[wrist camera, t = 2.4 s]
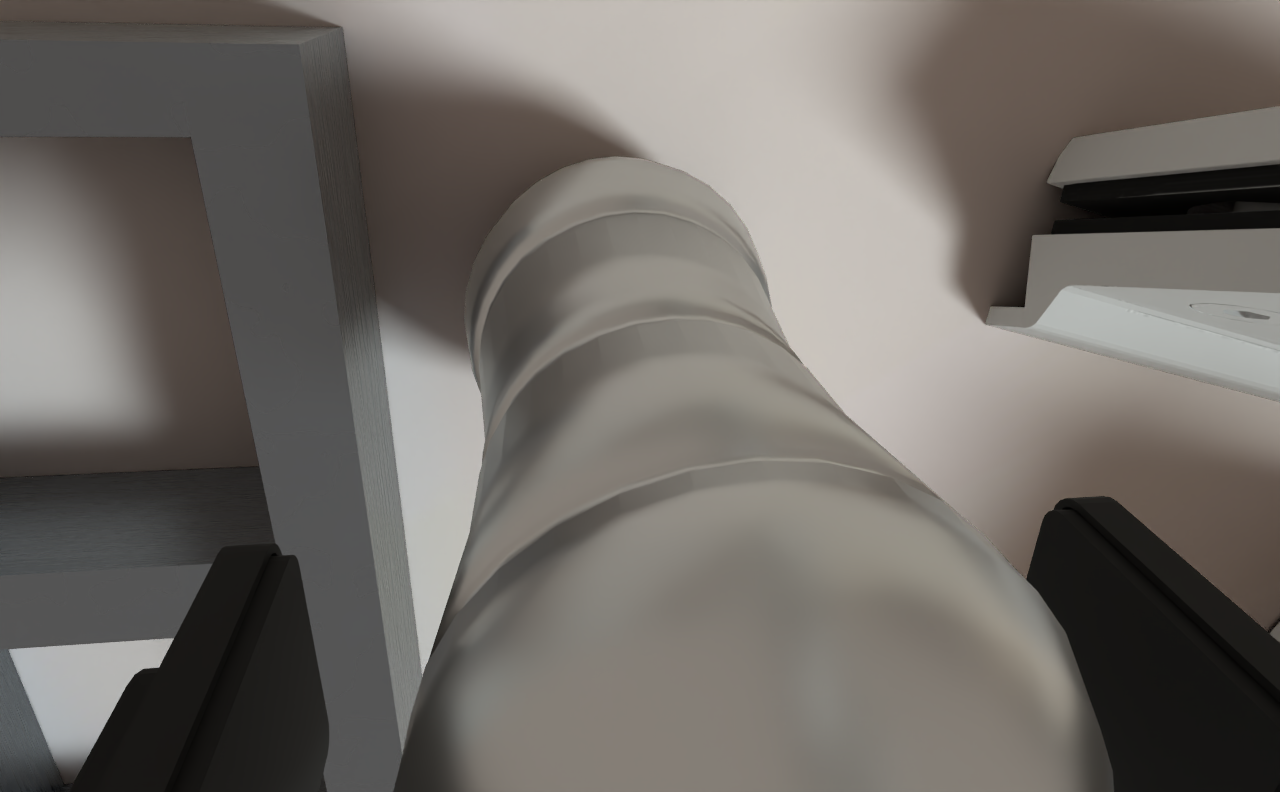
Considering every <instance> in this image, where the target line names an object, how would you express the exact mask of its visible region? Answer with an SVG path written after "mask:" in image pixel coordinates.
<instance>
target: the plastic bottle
mask: <svg viewBox="0 0 1280 792" xmlns="http://www.w3.org/2000/svg"><path fill="white" fill-rule="evenodd" d="M464 322H465V329H466V335H467V342H468V348H469V354H470V360H471V365H472V371H473V374H474V377H475V379H476V382H477V385H478V387H479V390H480V392H481V397H482V409H483V420H484V432H485V444H484V450H483V459H482V467H481V470H480V474H479V480H478V486H477V492H476V498H475V504H474V510H473V516H472V522H471V528H470V533H469V537H468V540H467V543H466V546H465V549H464V552H463V555H462V558H461V561H460V564H459V567H458V571H457V574H456V577H455V580H454V583H453V586H452V589H451V592H450V595H449V598H448V601H447V605H446V608H445V611H444V614H443V617H442V620H441V623H440V626H439V629H438V632H437V635H436V639H435V642H434V645H433V648H432V651H431V655H430V658H429V661H428V663H427V665H426V667H425V670H424V673H423V677H422V680H421V683H420V686H419V690H418V693H417V696H416V699H415V702H414V706H413V709H412V712H411V716H410V720H409V725H408V730H407V735H406V739H405V744H404V749H403V753H402V758H401V762H400V766H399V770H398V774H397V778H396V782H395V787H394V791H393V792H1114V784H1113V770H1112V767H1111V763H1110V760H1109V757H1108V753H1107V750H1106V746H1105V743H1104V739H1103V736H1102V733H1101V729H1100V726H1099V723H1098V721H1097V718H1096V715H1095V712H1094V710H1093V707H1092V704H1091V701H1090V698H1089V696H1088V693H1087V690H1086V687H1085V684H1084V682H1083V679H1082V676H1081V673H1080V671H1079V668H1078V665H1077V662H1076V659H1075V657H1074V654H1073V651H1072V648H1071V645H1070V643H1069V640H1068V637H1067V634H1066V632H1065V631H1064V629H1063V628H1062V626H1061V625H1060V623H1059V622H1058V620H1057V619H1056V618H1055V616H1054V615H1053V613H1052V612H1051V610H1050V609H1049V607H1048V606H1047V604H1046V603H1045V601H1044V600H1043V598H1042V597H1041V596H1040V594H1039V593H1038V591H1037V590H1036V589H1035V588H1034V587H1033V586H1032V585H1031V584H1030V583H1029V582H1028V581H1027V580H1026V579H1025V578H1024V577H1023V576H1022V575H1021V574H1020V573H1019V572H1018V571H1017V570H1016V569H1015V568H1014V567H1013V566H1012V565H1011V564H1010V563H1009V561H1008V560H1007V559H1006V558H1005V557H1004V556H1003V555H1002V554H1001V553H1000V552H999V551H998V549H997V548H996V547H995V546H994V545H993V544H992V543H991V542H990V541H989V540H988V538H987V537H986V536H985V535H984V534H983V533H982V532H980V531H979V530H978V529H977V528H976V527H974V526H973V525H972V524H971V523H969V522H968V521H967V520H966V519H965V518H963V517H962V516H961V515H960V514H959V513H958V512H957V511H955V510H954V509H953V508H952V507H951V506H950V505H949V504H947V503H946V502H945V501H944V500H943V499H942V498H941V497H939V496H938V495H937V494H936V493H935V492H934V491H933V490H931V489H930V488H929V487H928V486H927V485H926V484H925V483H923V482H922V481H921V480H920V479H919V478H918V477H916V476H915V475H914V474H913V473H912V472H911V471H910V470H908V469H907V468H906V467H905V466H904V465H903V464H902V463H900V462H899V461H898V460H897V459H896V458H895V457H894V456H892V455H891V454H890V453H889V452H888V451H887V450H886V449H884V448H883V447H882V446H881V445H880V444H879V443H878V442H876V441H875V440H874V439H873V438H872V437H871V436H870V435H868V434H867V433H866V432H865V431H864V430H863V429H862V428H860V427H859V426H858V425H857V424H856V423H855V422H854V421H852V420H851V419H850V418H849V417H848V416H847V415H846V414H845V413H844V412H843V410H842V409H841V408H840V407H839V406H838V404H837V403H836V402H835V401H834V400H833V398H832V397H831V396H830V395H829V394H828V392H827V391H826V390H825V389H824V388H823V386H822V385H821V384H820V383H819V382H818V380H817V379H816V378H815V377H814V375H813V374H812V373H811V372H810V371H809V369H808V368H807V367H805V366H804V365H803V363H802V362H801V361H800V359H799V358H798V357H797V355H796V354H795V353H794V352H793V350H792V349H791V348H790V347H789V344H788V342H787V340H786V338H785V336H784V334H783V331H782V329H781V327H780V325H779V323H778V320H777V318H776V316H775V314H774V312H773V310H772V306H771V300H770V294H769V289H768V284H767V278H766V275H765V272H764V269H763V266H762V264H761V261H760V258H759V255H758V253H757V250H756V248H755V245H754V243H753V241H752V238H751V236H750V234H749V231H748V229H747V227H746V226H745V224H744V223H743V222H742V220H741V219H740V217H739V216H738V214H737V213H736V212H735V210H734V209H733V207H732V206H731V205H730V204H729V203H728V202H727V201H726V200H725V199H724V198H722V197H721V196H720V195H719V194H718V193H717V192H716V191H715V190H713V189H712V188H711V187H710V186H709V185H707V184H705V183H704V182H702V181H700V180H698V179H697V178H695V177H693V176H691V175H689V174H688V173H686V172H684V171H682V170H678V169H675V168H672V167H669V166H665V165H662V164H659V163H656V162H652V161H649V160H646V159H642V158H630V157H619V156H613V157H605V158H596V159H588V160H585V161H582V162H579V163H576V164H573V165H570V166H567V167H563V168H561V169H559V170H557V171H555V172H554V173H552V174H550V175H548V176H546V177H545V178H543V179H541V180H539V181H538V182H536V183H535V184H534V185H533V186H531V187H530V188H529V189H528V190H527V191H526V192H524V193H523V194H522V195H521V196H520V197H519V198H517V199H516V200H515V201H514V202H513V203H512V205H511V206H510V207H509V208H508V209H507V211H506V212H505V213H504V214H503V216H502V217H501V218H500V220H499V221H498V222H497V223H496V225H495V226H494V227H493V228H492V230H491V231H490V232H489V233H488V235H487V237H486V239H485V241H484V243H483V245H482V247H481V249H480V251H479V253H478V255H477V257H476V258H475V260H474V263H473V266H472V270H471V274H470V277H469V281H468V285H467V288H466V296H465V313H464Z"/></svg>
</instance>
